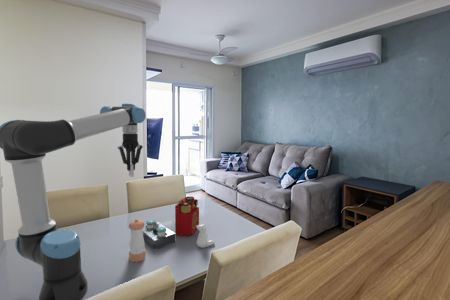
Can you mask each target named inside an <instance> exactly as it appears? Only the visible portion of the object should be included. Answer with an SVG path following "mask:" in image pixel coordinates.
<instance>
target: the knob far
mask: <svg viewBox="0 0 450 300" xmlns="http://www.w3.org/2000/svg"><path fill="white" fill-rule="evenodd" d="M155 221H156V220H155V219H147V220H146V221H145V222H146V224H145V225H147V228H148V229H152V228H153V225H154V224H155Z"/></svg>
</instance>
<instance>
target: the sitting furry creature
mask: <svg viewBox="0 0 450 300" xmlns="http://www.w3.org/2000/svg"><path fill="white" fill-rule="evenodd" d="M196 227H197V229H196V230H198V231H199V233H198V235H197V236H198V237H197V239H196V246H197V247H198V248H201V249H204V248H208V247H211V246H214V245H215V243H216V242H215V241H214V240H209V239H208V237H209V235H208V233H207V227H206V225H205V224H204V223H199V226H198V225H197V226H196Z"/></svg>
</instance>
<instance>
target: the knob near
mask: <svg viewBox="0 0 450 300" xmlns="http://www.w3.org/2000/svg"><path fill="white" fill-rule="evenodd" d="M166 228H167V227H166V226H165V227H159V228H157V232H158V234H157V236H158V237H162V236H165V231H166Z"/></svg>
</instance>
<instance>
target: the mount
mask: <svg viewBox="0 0 450 300" xmlns="http://www.w3.org/2000/svg"><path fill="white" fill-rule="evenodd" d="M156 222H157V224H159V227H166V226H165V225H163V224H161V222H158V221H156ZM143 238H144V243H145V244H147V245H148V246H150V247H151V248H152V249H153V250H154V251H156V250H158V249H161V248H164V247H165V246H169V245H172V244H173V243H176V234H175V231H173V230H171V229H169V228H168V227H166V231H165V236H162V237H158V232H157V231H153V228H152V229H148V228H147V224H145V225H144V227H143Z"/></svg>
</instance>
